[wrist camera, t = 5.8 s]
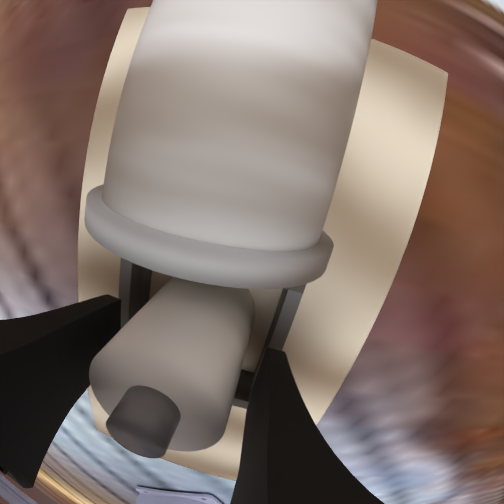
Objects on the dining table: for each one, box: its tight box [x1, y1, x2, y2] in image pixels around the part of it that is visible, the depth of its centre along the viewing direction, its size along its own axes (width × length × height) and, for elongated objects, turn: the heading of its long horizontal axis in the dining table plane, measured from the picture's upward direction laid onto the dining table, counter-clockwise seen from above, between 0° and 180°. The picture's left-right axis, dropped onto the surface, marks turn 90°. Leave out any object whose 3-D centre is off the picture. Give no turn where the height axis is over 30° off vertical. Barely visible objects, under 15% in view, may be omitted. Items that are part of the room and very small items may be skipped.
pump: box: [89, 277, 255, 458], centre depth 9 cm, size 4×4×7 cm
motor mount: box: [78, 0, 448, 481], centre depth 10 cm, size 27×14×7 cm, turn 166°
